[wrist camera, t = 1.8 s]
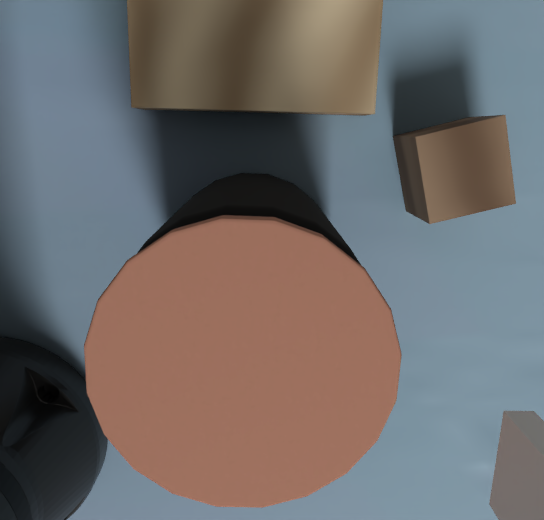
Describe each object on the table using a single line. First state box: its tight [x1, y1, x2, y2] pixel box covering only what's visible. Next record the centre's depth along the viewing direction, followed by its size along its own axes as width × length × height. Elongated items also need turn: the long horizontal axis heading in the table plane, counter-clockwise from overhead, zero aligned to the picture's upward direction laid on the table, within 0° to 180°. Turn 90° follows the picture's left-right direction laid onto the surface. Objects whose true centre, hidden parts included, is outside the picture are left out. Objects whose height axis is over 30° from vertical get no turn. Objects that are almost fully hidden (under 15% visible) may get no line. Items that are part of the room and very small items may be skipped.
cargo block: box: [393, 115, 516, 224], centre depth 31 cm, size 5×5×5 cm
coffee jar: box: [84, 173, 401, 507], centre depth 25 cm, size 11×11×18 cm
